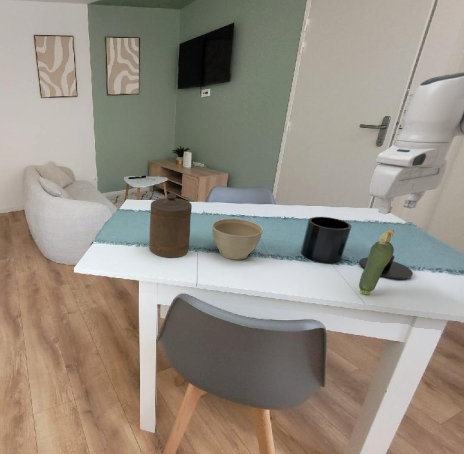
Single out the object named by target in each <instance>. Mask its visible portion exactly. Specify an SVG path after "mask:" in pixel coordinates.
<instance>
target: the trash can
mask: <svg viewBox="0 0 464 454" xmlns="http://www.w3.org/2000/svg"><path fill="white" fill-rule="evenodd" d="M351 231H352V225H351V224H350V222H348V221H345V220H342V219H339V218H335V217H330V216H313V217H310V218H309V219H308V220H307V225H306V229H305V232H304V236H303V240H302V245H301V248H300V254H301V255H302V257H304V258H306V259H308V260H310V261H312V262H315V263H318V264H319V263H320V264H325V265H335V264H338V263H340V262H341V260H342V258H343V255H344V253H345V249H346V247H347V242H348V239H349V236H350V233H351Z"/></svg>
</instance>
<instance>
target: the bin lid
mask: <svg viewBox="0 0 464 454" xmlns="http://www.w3.org/2000/svg"><path fill="white" fill-rule="evenodd" d="M394 259H395V255H394V254H393V255H392V257H391V259H390V261H389V263H388V264H387V265H386V266H385V268H384V269H383V271H382V273H381V275H380V277H384V278H390V279H397V280H405V279H410V278H412V276H413V274H414V272H413V271H412V270H411V268H409V267H407V266H406V265H404V264H403V263H400V262H397V261H394ZM367 261H368V256H366V257H362V258H360V259H359V261H358V263H359V266H361V268H363V270H364V269H365V266H366V264H367Z"/></svg>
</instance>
